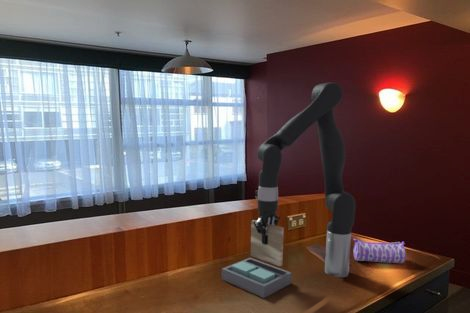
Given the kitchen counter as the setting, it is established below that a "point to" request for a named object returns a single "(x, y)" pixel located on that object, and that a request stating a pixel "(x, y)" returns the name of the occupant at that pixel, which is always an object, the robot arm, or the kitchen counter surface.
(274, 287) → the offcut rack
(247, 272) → the offcut
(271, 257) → the birch sheet
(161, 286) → the kitchen counter surface
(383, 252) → the pencil case
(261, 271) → the offcut
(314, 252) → the wooden tablet
